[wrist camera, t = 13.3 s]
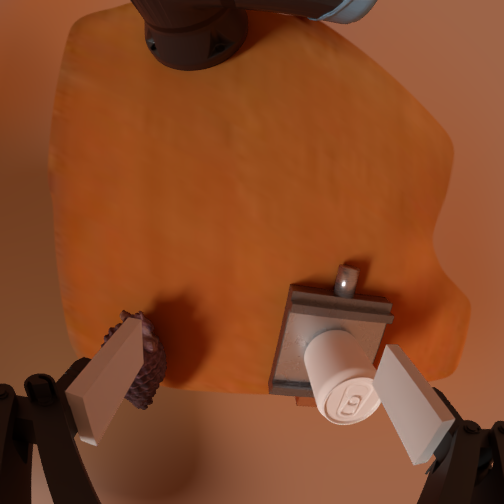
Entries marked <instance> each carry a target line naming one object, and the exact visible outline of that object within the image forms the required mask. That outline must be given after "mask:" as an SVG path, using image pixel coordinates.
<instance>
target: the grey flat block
mask: <svg viewBox="0 0 504 504" xmlns="http://www.w3.org/2000/svg"><path fill="white" fill-rule="evenodd" d="M359 273H360V269H359V268H357V267H354V266H350V265H343V264H341V265H339V269H338V274H337V278H336V282H335V287H334V290H327V289H320V288H313V287H306V286H299V285H292V284H290V288H289V293H288V298H287V302H286V307H285V312H284V317H283V321H282V326H281V330H280V335H279V339H278V344H277V348H276V352H275V357H274V361H273V365H272V370H271V374H270V378H269V382H268V386H269V394H275V395H285V396H295V399H296V405H297V406H311V407H317V404H316V401H315V397H314V394H313V390H312V387H311V383H310V380H309V376H308V373H307V369H306V366H305V362H304V355H305V351H306V348H307V347H308V345H309V343H310V342H311V341H312V340H313V339H314V338H315V337H317V336H318V335H320V334H322V333H324V332H326V331H330V330H343V331H346V332H348V333H350V334H351V335H353V336H354V337H355V339H356V340H357V342H358V343H359V345H360V346H361V348H362V349H363V351H364V352H365V354H366V355H367V357H368V358H369V360H370V361H371V363H372V364H373V362H374V359H375V357H376V354H377V351H378V348H379V345H380V342H381V339H382V336H383V333H384V330H385V327H386V324H392V322H393V319H394V315H392V314H391V313H390V311H391V308H392V303H391V302H390V301H388V300H387V299H386V298H385V297H378V296H371V295H363V294H356V293H355V289H356V285H357V281H358V277H359Z"/></svg>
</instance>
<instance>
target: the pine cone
mask: <svg viewBox="0 0 504 504" xmlns="http://www.w3.org/2000/svg"><path fill="white" fill-rule="evenodd" d="M128 317H130V318H135V319H140V320H142V342H143V360H144V363H143V365H142V367H141V369H140V370H139V372H138V374H137V375H136V377H135V379H134V381H133V382H132V384H131V386H130V388H129V389H128V391H127V393H126V395H125V396H124V398H126V399H127V400H129V401H130V402H131V403H132V404H133V405H134V406H135V407H137V408H138V409H139V408H141V409H143V410H145V409H146V408H148V406H147V405H150V404H152V403H153V401H152V397H154V395H155V394H156V389H158V388H159V383H160V382H162V381H163V378H164V377H165V371H166V369H167V366H166V364H167V362H166V355H165V351H164V350H163V349H164V347H163V345H162V343H160V342H159V337H158V336H155V334H154V333H153V332H152V331H153V330H154V326H153V324H152V323H151V322H150V320H149V319H147V318H145V317H144V315H143V312H141V311H139V313H135V315H131V314H130V313H128V312H126V311H125V310H123V311H122V312H121V314H120V318H121V319H122V321H123V323H124V322H125V321H126V319H127V318H128ZM121 325H122V324H121V323H119V324H117V325H116V326H115V328H112V327H111V328H110V329H109V334H108V335H105V336H104V340H105V342H104V343H103V344H102V345H101V348H102V347H103V346H104V344H105V343H106V342H107V341H108V340H109V339H110V338H111V336H112V335H113V334H114V333H115V332H116V331H117V330H118V328H119V327H120V326H121Z"/></svg>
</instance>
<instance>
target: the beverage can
mask: <svg viewBox="0 0 504 504" xmlns="http://www.w3.org/2000/svg"><path fill="white" fill-rule="evenodd" d="M304 362H305V366H306V369H307V373H308V376H309V380H310V383H311V387H312V390H313V394H314V397H315V401H316V404H317V407H318V410H319V411H320V413H321V414H322V415H323V416H324V417H326V418H327V419H328V420H329V421H330V422H332V423H334V424H338V425H349V424H354V423H357V422H360V421H362V420H364V419H365V418H367V417H369V416H370V415H371V414H372V413H373V412H374V411H375V410H376V409H377V408H378V407H379V405H380V403H381V400H380V398H379V396H378V394H377V393H376V391H375V389H374V387H373V385H372V383H373V380H374V377H375V375H376V372H377V370H376V369H375V367H374V366H373V364H372V363H371V361H370V360H369V358H368V357H367V355H366V354H365V352H364V351H363V349H362V348H361V346H360V345H359V343H358V342H357V340H356V339H355V337H354V336H353V335H351V334H350V333H348V332H346V331H343V330H330V331H326V332H324V333H322V334H320V335H318V336H317V337H315V338H314V339H313V340H312V341H311V342H310V343H309V345H308V347H307V348H306V351H305V355H304Z"/></svg>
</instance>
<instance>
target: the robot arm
mask: <svg viewBox="0 0 504 504" xmlns="http://www.w3.org/2000/svg"><path fill="white" fill-rule="evenodd" d="M131 2H132V3H133V5H134V6H135V7H136V9H137V10H138V12H139V13H140V14H141V16H142V17H143V19H144V20H145V40H146V44H147V46H148V48H149V50H150V51H151V53H152V54H153V55H154V57H155V58H156V59H157V60H158V61H159V62H160V63H162V64H163V65H165V66H167V67H170V68H173V69H177V70H184V71H193V70H201V69H205V68H209V67H212V66H215V65H217V64H219V63H221V62H223V61H225V60H226V59H228V58H229V57H231V56H232V55H233V54H234V53H235V52H236V51H237V50H238V49H239V48H240V47H241V45H242V44H243V42H244V40H245V38H246V35H247V31H248V20H247V14H246V11H245V9H246V10H258V11H267V12H276V13H283V14H290V15H296V16H302V17H308V19H310V20H314V21H319V20H324V21H329V22H334V23H340V24H348V23H352V22H356V21H358V20H360V19H361V18H363V17H364V16H365V15H366V14H367V13H368V12H369V11H370V10H371V8H372V7H373V6H374V5H375V3H376V2H377V0H131ZM143 363H144V360H143V342H142V320H140V319H135V318H130V317H128V318H127V319H126V321H125V322H124V323H123V324H122V325H121V326H120V327H119V328H118V330H117V331H116V332H115V333H114V334H113V335H112V336H111V338H110V339H109V340H108V341H107V342H106V343H105V344H104V346H103V347H102V348H101V349H100V350H99V351H98V353H97V354H96V355H95V356H94V357H93V358H92V359H89V358H85V357H83V358H81V359H79V360H77V361H75V362H74V363H73V364H72V365H71V367H70V368H69V369H68V370H67V371H66V372H65V374H63V376H62V377H61V378H60V379H59V380H58V381H57V382H56V383H55V381H54V379H53V378H52V377H51V376H50V375H47V374H34V375H31V376H30V377H28V378H27V379H26V380H25V382H24V388H25V390H26V393H27V396H28V397H23V396H18V395H16V393H15V391H14V389H13V388H12V387H11V386H10V385H7V384H0V504H31V469H32V452H33V444H37V446H38V450H39V454H40V458H41V463H42V466H43V470H44V473H45V477H46V480H47V484H48V487H49V490H50V493H51V496H52V499H53V502H54V504H101V502H100V500H99V498H98V496H97V494H96V492H95V490H94V487H93V486H92V483H91V481H90V479H89V477H88V474H87V471H86V469H85V467H84V464H83V462H82V459H81V457H80V454H79V451H78V448H77V446H76V443H75V440H74V437H75V435H76V433H77V432H78V434H79V437H80V439H81V441H84V442H87V443H89V444H92V445H95V446H97V445H98V444H99V442H100V440H101V438H102V436H103V434H104V432H105V431H106V429H107V427H108V425H109V423H110V421H111V420H112V418H113V416H114V414H115V412H116V411H117V409H118V407H119V405H120V404H121V402H122V400H123V398H124V396H125V395H126V393H127V391H128V389H129V388H130V386H131V384H132V382H133V381H134V379H135V377H136V375H137V374H138V372H139V370H140V369H141V367H142V365H143ZM372 385H373V387H374V389H375V391H376V393H377V394H378V396H379V398H380V400H381V402H382V404H383V406H384V408H385V409H386V411H387V413H388V415H389V417H390V419H391V421H392V423H393V425H394V427H395V429H396V431H397V433H398V435H399V437H400V439H401V441H402V443H403V445H404V446H405V449H406V451H407V453H408V455H409V457H410V459H411V461H412V463H413V465H417V464H421V463H426V462H427V461H428V460H429V459H430V457H431V456H432V454H434V455H435V457H436V460H435V461H434V462H433V464H432V465H431V466H430V468H429V469H428V470H427V471H426V473H425V474H428V472H429V471H430V472H429V475H428V478H427V480H426V483H425V485H424V488H423V490H422V493H421V495H420V498H419V500H418V502H417V504H504V421H497V422H495V424H494V425H493V427H492V428H491V429H481V428H480V426H479V425H478V424H477V423H475V422H473V421H470V420H463V419H462V418H461V416H460V415H459V414H458V412H457V411H456V410H455V409H454V407H453V406H452V405H451V404H450V402H449V401H448V400H447V398H446V397H445V396H444V394H443V393H442V392H441V391H439V390H438V389H436V388H435V387H431V386H430V384H429V383H428V382H427V381H426V379H425V378H424V377H423V375H422V374H421V373H420V372H419V370H418V369H417V368H416V367H415V365H414V364H413V363H412V362H411V360H410V359H409V358H408V357H407V355H406V354H405V353H404V352H403V350H402V349H401V348H400V347H399V345H398V344H386V346H385V349H384V352H383V355H382V358H381V361H380V364H379V367H378V369H377V372H376V375H375V377H374V380H373V383H372ZM492 463H493V467H492V465H491V464H492Z"/></svg>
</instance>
